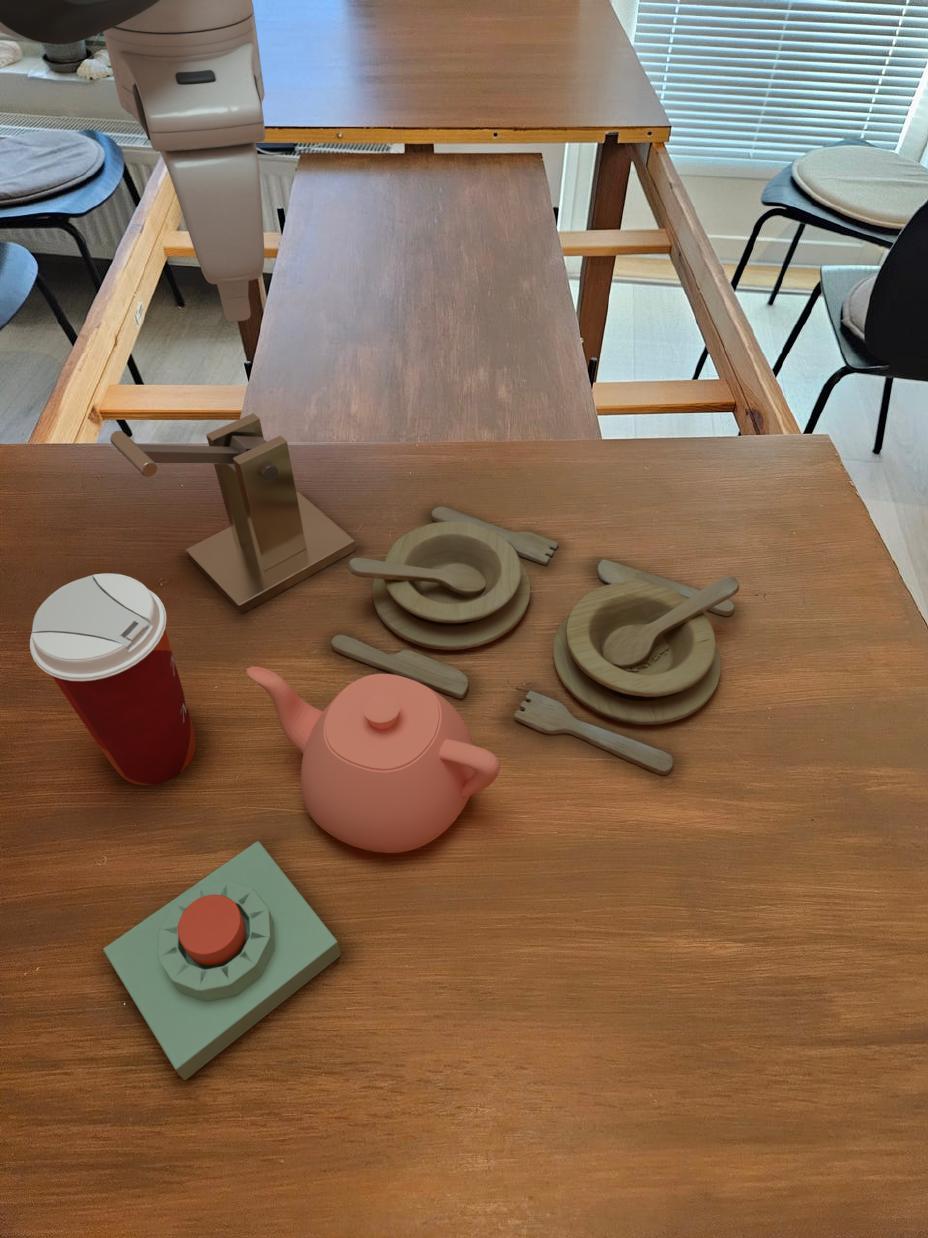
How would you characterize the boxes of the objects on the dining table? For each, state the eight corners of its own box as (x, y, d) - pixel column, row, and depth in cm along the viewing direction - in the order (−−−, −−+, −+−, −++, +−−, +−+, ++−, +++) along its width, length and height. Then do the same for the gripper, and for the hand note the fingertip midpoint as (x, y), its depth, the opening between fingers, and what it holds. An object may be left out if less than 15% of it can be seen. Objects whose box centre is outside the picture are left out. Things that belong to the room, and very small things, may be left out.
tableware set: (324, 649, 72) (315, 598, 68) (434, 506, 84) (432, 455, 80) (680, 786, 64) (696, 739, 59) (746, 605, 75) (764, 554, 71)
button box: (184, 1081, 51) (167, 1060, 48) (112, 962, 55) (92, 936, 52) (341, 955, 56) (334, 929, 53) (263, 855, 60) (253, 826, 57)
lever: (139, 484, 63) (145, 454, 62) (107, 452, 66) (112, 422, 65) (277, 483, 72) (285, 457, 71) (245, 455, 74) (252, 428, 73)
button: (204, 979, 51) (197, 967, 50) (173, 933, 53) (166, 920, 52) (257, 938, 53) (252, 926, 51) (226, 895, 55) (220, 882, 53)
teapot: (464, 899, 58) (464, 827, 51) (227, 808, 63) (196, 730, 56) (526, 753, 66) (532, 673, 58) (310, 682, 70) (292, 599, 63)
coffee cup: (234, 728, 67) (187, 590, 56) (166, 816, 62) (100, 684, 51) (144, 691, 70) (83, 551, 58) (72, 773, 65) (-11, 638, 53)
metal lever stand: (241, 615, 75) (208, 497, 65) (188, 559, 79) (150, 441, 70) (356, 550, 80) (341, 432, 71) (300, 501, 85) (279, 384, 75)
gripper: (122, 24, 60) (168, 229, 70) (149, 131, 47) (200, 363, 57) (217, 18, 62) (248, 219, 72) (268, 120, 49) (297, 348, 59)
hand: (227, 284), depth 65 cm, fingers open, 8 cm apart
